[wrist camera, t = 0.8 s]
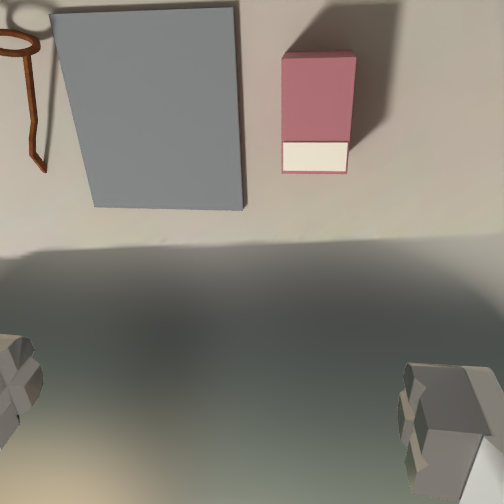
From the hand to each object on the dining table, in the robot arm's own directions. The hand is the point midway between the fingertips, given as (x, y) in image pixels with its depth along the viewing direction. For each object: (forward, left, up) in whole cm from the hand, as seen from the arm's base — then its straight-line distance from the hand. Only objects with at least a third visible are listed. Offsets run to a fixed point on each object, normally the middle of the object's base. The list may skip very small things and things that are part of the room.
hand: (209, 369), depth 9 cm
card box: (+1, +2, -34) cm, 34 cm away
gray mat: (+2, -13, -33) cm, 36 cm away
